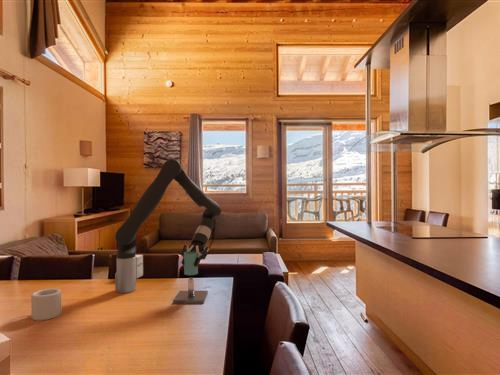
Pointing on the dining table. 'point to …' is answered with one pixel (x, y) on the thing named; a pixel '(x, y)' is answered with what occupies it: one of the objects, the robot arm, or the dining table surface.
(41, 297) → the mug
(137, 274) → the supplement box
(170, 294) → the dining table surface
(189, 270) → the sleeve
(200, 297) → the post base
